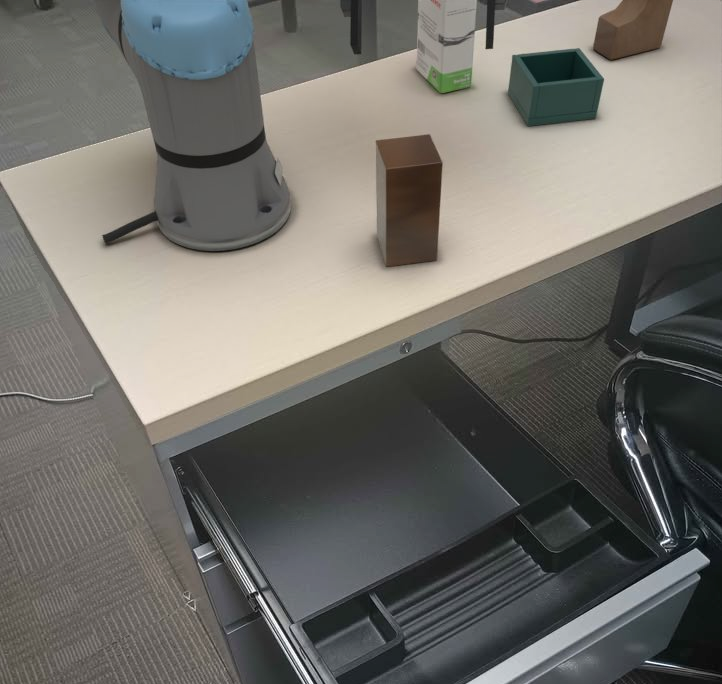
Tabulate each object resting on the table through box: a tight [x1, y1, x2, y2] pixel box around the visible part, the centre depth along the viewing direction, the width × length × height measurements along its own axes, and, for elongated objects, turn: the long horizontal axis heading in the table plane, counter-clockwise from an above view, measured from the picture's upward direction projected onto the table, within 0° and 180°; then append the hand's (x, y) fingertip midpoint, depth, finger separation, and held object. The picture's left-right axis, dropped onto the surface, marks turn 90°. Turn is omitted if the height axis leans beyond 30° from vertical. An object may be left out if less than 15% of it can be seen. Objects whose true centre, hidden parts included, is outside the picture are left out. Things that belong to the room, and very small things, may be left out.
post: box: [375, 133, 443, 267], centre depth 78 cm, size 6×6×11 cm
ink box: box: [415, 0, 478, 94], centre depth 102 cm, size 9×5×12 cm, turn 21°
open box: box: [507, 47, 605, 127], centre depth 99 cm, size 9×9×5 cm
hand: (421, 47), depth 78 cm, fingers open, 13 cm apart
